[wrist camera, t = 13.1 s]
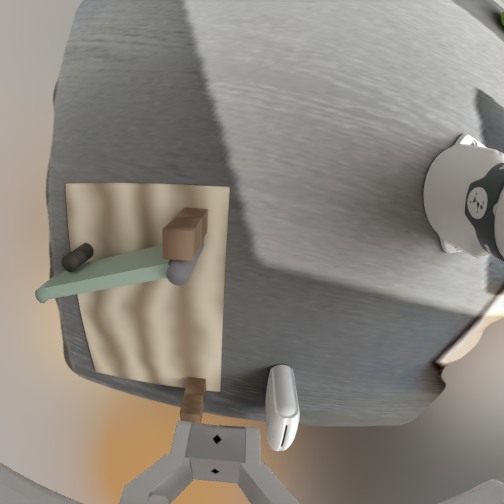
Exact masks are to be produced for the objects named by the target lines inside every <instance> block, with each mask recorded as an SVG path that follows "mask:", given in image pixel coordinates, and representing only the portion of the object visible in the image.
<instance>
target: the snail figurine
mask: <svg viewBox="0 0 504 504" xmlns="http://www.w3.org/2000/svg"><path fill="white" fill-rule="evenodd" d="M501 22H502V25H503V27H504V12H503V13H502V14H501Z"/></svg>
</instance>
